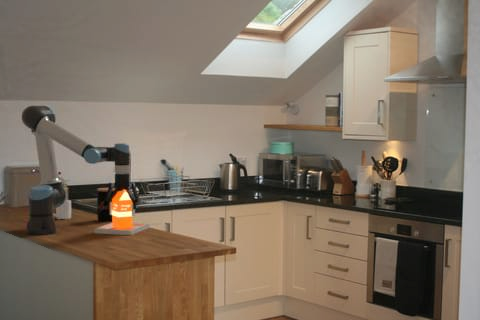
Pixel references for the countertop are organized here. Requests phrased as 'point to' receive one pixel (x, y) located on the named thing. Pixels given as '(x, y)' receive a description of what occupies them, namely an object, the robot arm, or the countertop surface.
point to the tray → (125, 231)
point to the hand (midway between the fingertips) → (122, 215)
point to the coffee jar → (103, 205)
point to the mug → (63, 210)
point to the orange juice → (121, 210)
